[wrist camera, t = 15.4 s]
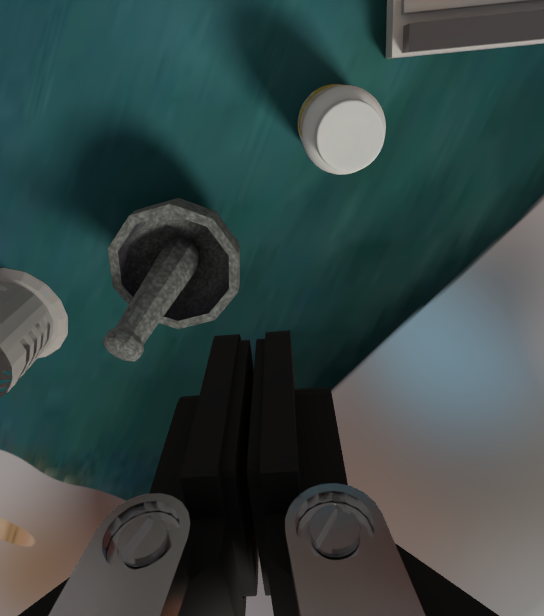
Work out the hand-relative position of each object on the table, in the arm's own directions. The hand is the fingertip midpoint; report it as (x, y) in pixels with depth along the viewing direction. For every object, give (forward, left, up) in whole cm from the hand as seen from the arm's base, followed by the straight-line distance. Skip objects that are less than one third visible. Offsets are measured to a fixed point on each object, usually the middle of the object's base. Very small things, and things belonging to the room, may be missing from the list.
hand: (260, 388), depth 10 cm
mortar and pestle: (+6, -8, -29) cm, 31 cm away
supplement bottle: (-3, +5, -29) cm, 30 cm away
